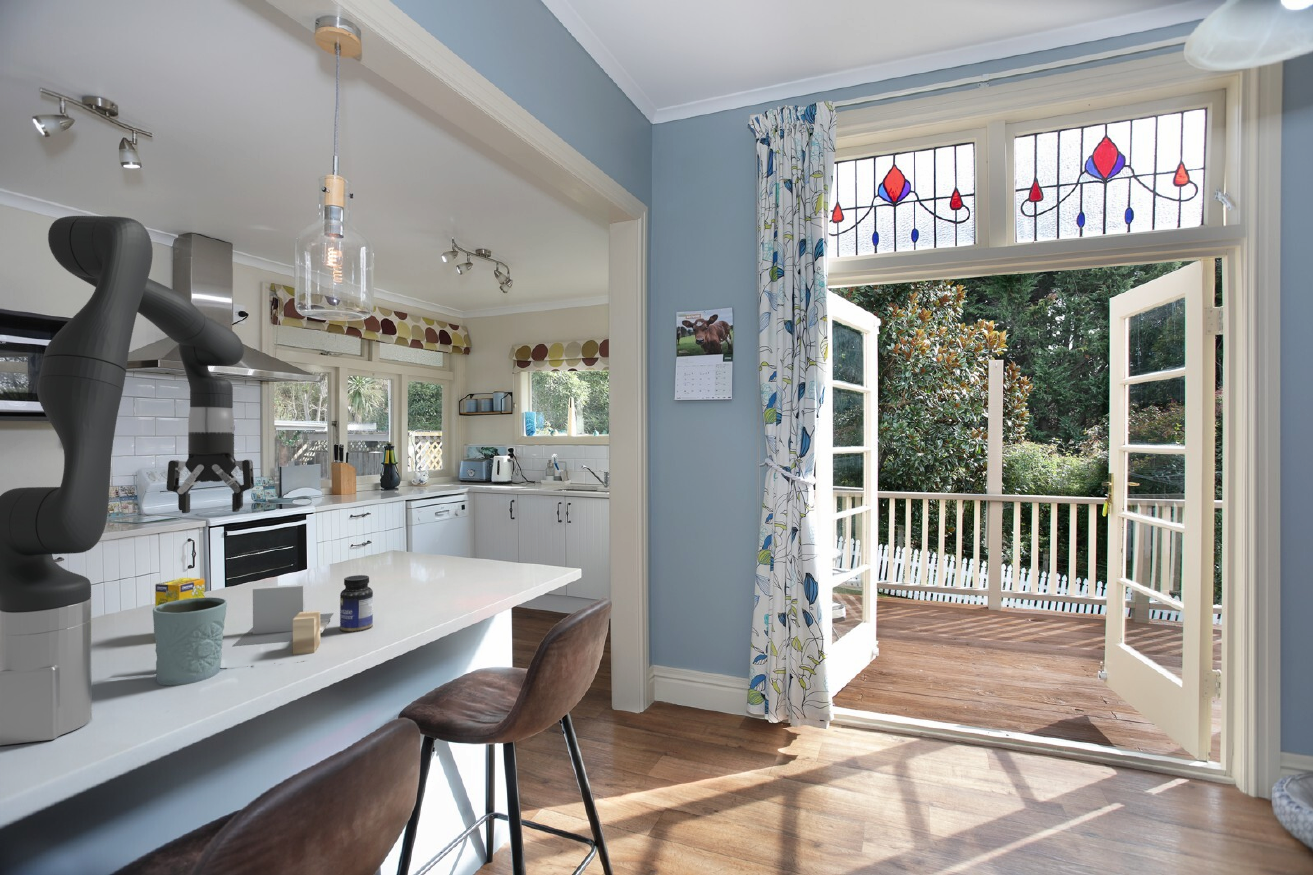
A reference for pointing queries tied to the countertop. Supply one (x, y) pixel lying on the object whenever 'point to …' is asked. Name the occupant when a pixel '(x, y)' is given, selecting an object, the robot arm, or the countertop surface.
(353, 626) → the pill bottle
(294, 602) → the tile
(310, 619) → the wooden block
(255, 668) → the countertop surface
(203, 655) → the green embossed planter
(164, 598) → the supplement box
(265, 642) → the mat
